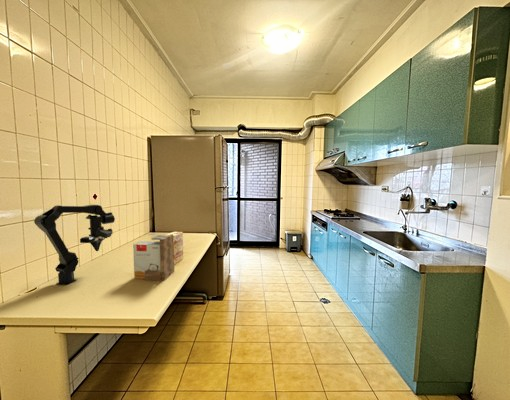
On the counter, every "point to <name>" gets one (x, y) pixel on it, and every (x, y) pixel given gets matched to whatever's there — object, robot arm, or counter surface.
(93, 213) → the robot arm
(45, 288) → the counter surface
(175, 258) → the coffeecake box
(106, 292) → the counter surface
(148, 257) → the hard drive box
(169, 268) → the bracket
